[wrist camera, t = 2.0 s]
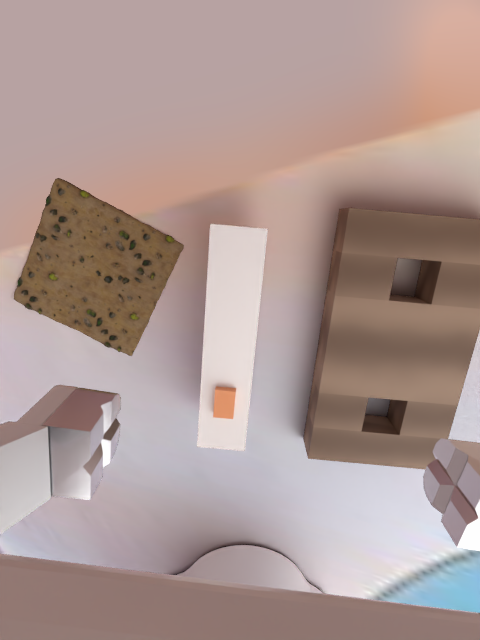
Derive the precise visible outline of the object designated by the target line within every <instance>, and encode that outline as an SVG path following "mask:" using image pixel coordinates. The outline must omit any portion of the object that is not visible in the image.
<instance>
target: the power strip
mask: <svg viewBox="0 0 480 640" xmlns="http://www.w3.org/2000/svg"><path fill="white" fill-rule="evenodd" d="M267 233H268V229H267V228H257V227H246V226H235V225H223V224H210V237H209V254H208V271H207V287H206V304H205V321H204V338H203V355H202V372H201V388H200V405H199V422H198V439H197V447H204V448H215V449H226V450H237V451H245V444H246V434H247V425H248V415H249V406H250V396H251V386H252V377H253V367H254V358H255V348H256V338H257V329H258V319H259V310H260V300H261V290H262V281H263V271H264V262H265V252H266V242H267Z"/></svg>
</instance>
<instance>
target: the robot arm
mask: <svg viewBox="0 0 480 640" xmlns="http://www.w3.org/2000/svg"><path fill="white" fill-rule="evenodd" d="M120 410H121V397H120V395H119V394H117V393H110V392H104V391H98V390H91V389H85V388H78V387H72V386H64V385H57V386H54V387H53V388H52V389H51V390H50V391H49V392H48V393H47V394H46V395H45V396H44V397H43V398H41V399H40V400H39V401H38V402H37V403H36V404H35V405H34V406H33V407H32V408H31V409H30V410H29V411H28V412H27V413H26V414H24V415H23V416H22V417H21V418H20V419H19V420H18V421H17V422H7V423H4V424H1V425H0V535H1V534H2V533H4V532H5V531H6V530H8V529H9V528H11V527H12V526H13V525H15V524H16V523H18V522H19V521H20V520H22V519H23V518H25V517H26V516H27V515H29V514H30V513H32V512H33V511H34V510H36V509H37V508H38V507H40V506H41V505H43V504H44V503H45V502H47V501H48V500H50V499H51V496H53V497H64V498H74V499H84V500H91V498H92V496H93V494H94V492H95V491H96V489H97V487H98V485H99V483H100V481H101V479H102V477H103V467H104V466H106V465H108V464H109V463H110V462H111V460H112V458H113V456H114V454H115V451H116V448H117V445H118V441H119V435H120V423H119V422H118V420H117V419H116V416H117V415H118V413H119V411H120ZM433 454H434V456H435V460H434V461H432V462H431V463H430V464H428V465H427V467H426V470H425V473H424V476H423V483H424V490H425V494H426V497H427V498H428V500H429V502H430V503H431V505H432V506H433V507H434V508H436V509H437V510H438V511H439V512H441V513H442V519H441V522H442V523H443V525H444V527H445V528H446V530H447V532H448V533H449V535H450V537H451V538H452V540H453V541H454V543H455V545H456V546H457V547H459V548H465V549H472V550H478V551H480V443H477V442H468V441H460V440H451V439H442V438H441V439H440V440H439V441H438V442H437V443H436V444H435V447H434V449H433ZM0 640H480V613H476V612H468V611H460V610H452V609H444V608H436V607H427V606H419V605H411V604H403V603H395V602H387V601H379V600H371V599H363V598H355V597H347V596H339V595H331V594H324V593H323V592H321V591H320V590H319V589H317V588H316V587H314V586H313V585H311V584H309V583H308V582H307V580H306V579H305V578H304V576H303V574H302V573H301V571H300V570H299V569H298V568H297V566H296V565H295V564H294V563H293V562H291V561H290V560H289V559H287V558H286V557H284V556H283V555H281V554H279V553H277V552H275V551H272V550H270V549H266V548H263V547H258V546H250V545H235V546H228V547H223V548H220V549H217V550H214V551H212V552H209V553H208V554H206V555H204V556H202V557H201V558H200V559H198V560H197V561H196V562H195V563H194V564H193V565H192V566H191V567H190V568H189V569H188V570H186V571H185V572H183V573H180V574H177V575H168V574H160V573H152V572H143V571H135V570H127V569H119V568H111V567H103V566H95V565H87V564H79V563H71V562H63V561H55V560H47V559H39V558H31V557H23V556H15V555H7V554H0Z"/></svg>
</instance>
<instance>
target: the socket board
mask: <svg viewBox="0 0 480 640" xmlns="http://www.w3.org/2000/svg"><path fill="white" fill-rule="evenodd" d="M398 258H407V259H418V260H423V261H422V265H421V269H420V274H419V278H418V282H417V287H416V291H415V296H414V297H413V296H402V295H390V293H391V288H392V283H393V278H394V273H395V269H396V264H397V259H398ZM479 330H480V219H470V218H459V217H447V216H436V215H425V214H414V213H402V212H391V211H380V210H368V209H357V208H345V209H339V215H338V222H337V228H336V234H335V241H334V247H333V254H332V260H331V266H330V273H329V279H328V285H327V292H326V298H325V305H324V311H323V317H322V324H321V330H320V336H319V343H318V349H317V355H316V362H315V368H314V375H313V381H312V387H311V394H310V400H309V406H308V413H307V419H306V426H305V432H304V438H303V439H304V443H305V447H306V451H307V455H308V459H319V460H330V461H341V462H352V463H363V464H373V465H384V466H395V467H406V468H417V469H426V467H427V465H428V464H430V463H431V462H432V461H434V460H435V456H434V454H433V449H434V447H435V444H436V443H437V442H438V441H439V440H440V439H441V438H442V439H448V437H449V433H450V430H451V426H452V423H453V419H454V416H455V412H456V409H457V406H458V402H459V399H460V395H461V392H462V388H463V385H464V381H465V378H466V374H467V371H468V368H469V364H470V361H471V357H472V354H473V350H474V347H475V343H476V340H477V337H478V333H479ZM369 397H370V398H381V399H391V400H390V405H389V409H388V413H387V417H384V416H373V415H365V412H366V407H367V403H368V398H369Z"/></svg>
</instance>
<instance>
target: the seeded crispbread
mask: <svg viewBox="0 0 480 640" xmlns="http://www.w3.org/2000/svg"><path fill="white" fill-rule="evenodd" d="M183 248H184V245H183V244H181V243H179V242H177V241H175V240H174V239H173V238H172V237H171V236H169V235H165V234H163V233H161V232H160V231H158V230H156V229H154V228H153V227H151V226H149V225H147V224H144V223H142V222H140V221H138V220H136V219H134V218H133V217H131V216H130V215H129V214H127V213H125V212H124V211H123V210H120V209H117V208H116V207H114V206H112V205H110V204H108V203H107V202H104V201H102V200H99V199H97V198H96V197H94V196H93V195H91V194H90V193H89V192H86V191H84V190H81V189H80V188H78V187H76V186H75V185H73V184H71V183H69V182H67V181H65V180H62V179H60V178H57V179H55V181H54V183H53V186H52V188H51V192H50V195H49V196H48V197H47V199H46V205H45V208H44V210H43V213H42V217H41V221H40V224H39V226H38V229H37V231H36V234H35V237H34V241H33V244H32V246H31V249H30V252H29V256H28V259H27V262H26V264H25V266H24V268H23V271H22V275H21V277H20V278H19V280H18V285H17V289H16V290H15V293H14V299H15V300H16V301H17V302H19V303H21V304H23V305H24V306H25V307H26V308H27V309H31V310H35V311H37V312H38V313H39V314H43V315H45V316H47V317H49V318H51V319H53V320H55V321H57V322H59V323H62V324H64V325H67V326H69V327H71V328H73V329H75V330H78V331H80V332H82V333H84V334H85V335H87V336H90V337H91V338H93V339H95V340H97V341H99V342H101V343H102V344H104V345H105V346H106V347H111V348H114V349H116V350H118V352H120V351H121V352H123V353H126V354H128V355H130V356H132V354H133V352H134V350H135V348H136V346H137V344H138V342H139V340H140V338H141V336H142V334H143V332H144V329H145V328H146V326H147V324H148V322H149V318H150V316H151V314H152V312H153V310H154V309H155V306H156V303H157V301H158V300H159V298H160V296H161V293H162V291H163V289H164V288H165V286H166V282H167V280H168V278H169V276H170V274H171V272H172V270H173V269H174V266H175V264H176V262H177V259H178V257H179V255H180V253H181V251H182V250H183Z"/></svg>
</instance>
